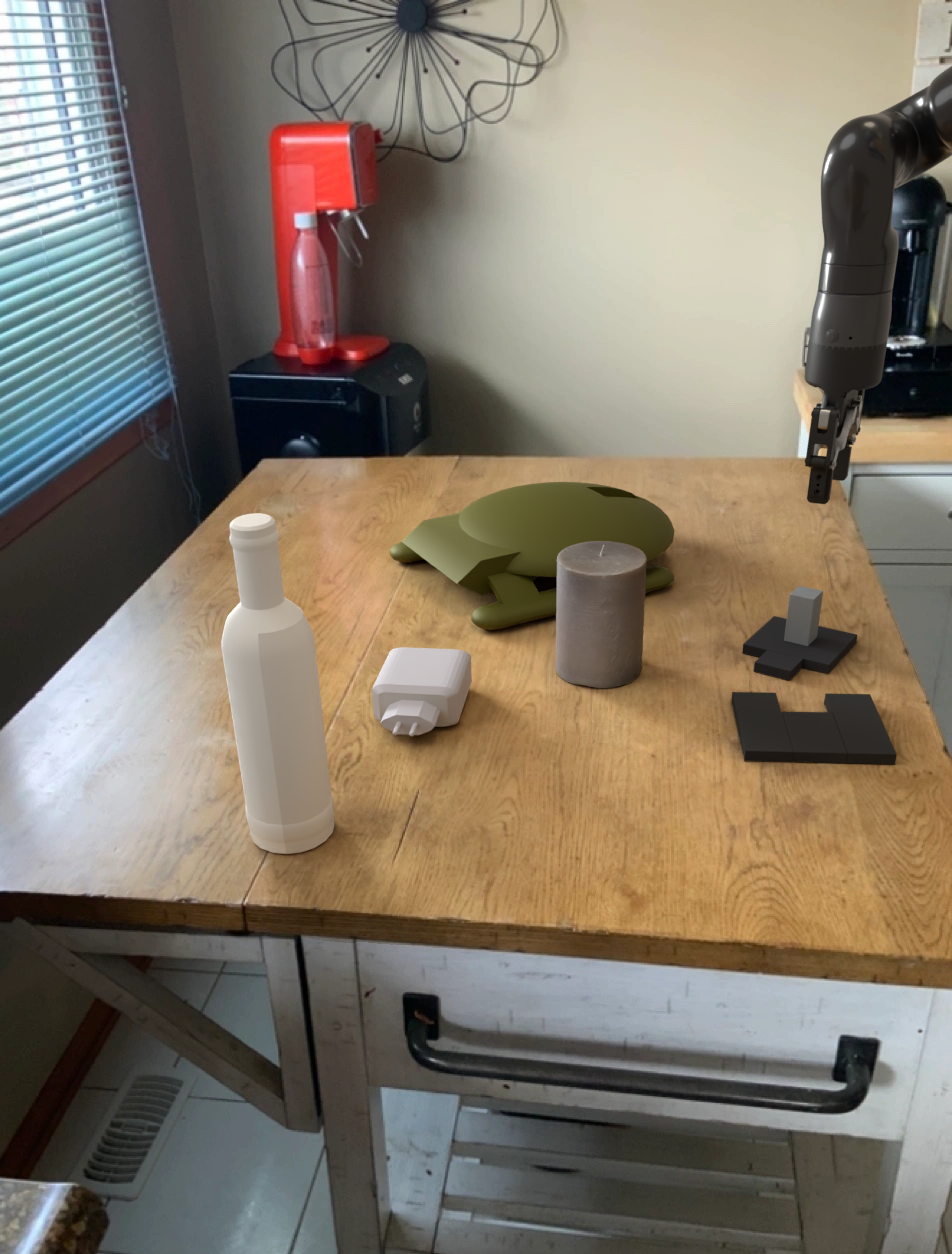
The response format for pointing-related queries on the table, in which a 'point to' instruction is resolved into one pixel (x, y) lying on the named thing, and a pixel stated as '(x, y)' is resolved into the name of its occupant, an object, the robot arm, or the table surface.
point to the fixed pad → (812, 730)
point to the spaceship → (533, 542)
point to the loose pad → (795, 653)
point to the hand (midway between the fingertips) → (827, 490)
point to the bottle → (275, 699)
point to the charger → (421, 689)
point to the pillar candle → (600, 613)
